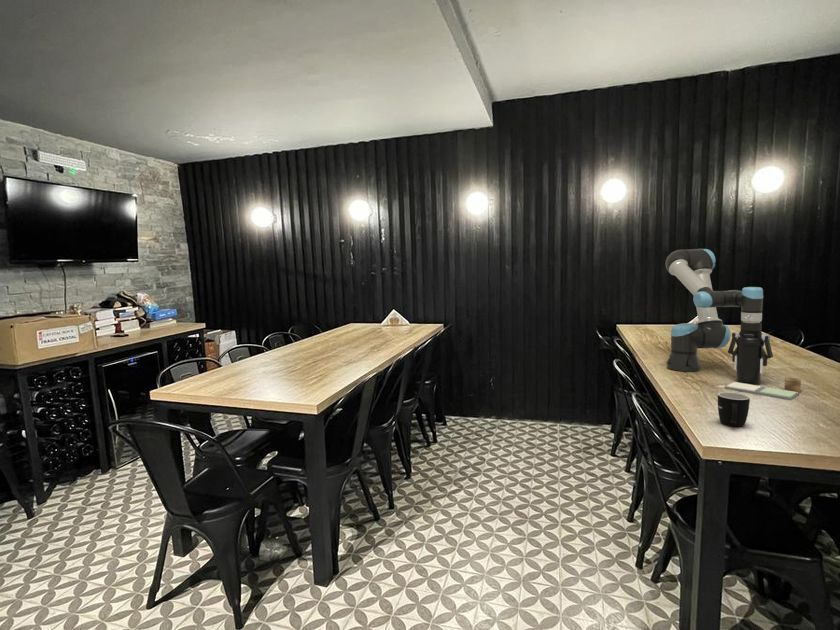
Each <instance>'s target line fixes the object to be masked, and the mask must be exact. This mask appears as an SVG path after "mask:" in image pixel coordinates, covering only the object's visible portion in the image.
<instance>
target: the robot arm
mask: <svg viewBox="0 0 840 630" xmlns="http://www.w3.org/2000/svg"><path fill="white" fill-rule="evenodd" d="M715 267H716V256H715V254H714V252H713V251H711V249H707V248H692V249H691V248H690V249H677V250H674V251H672V252H670V254H668V256H667V257H666V260H665V268H666V270H667V272H668V273H669V274H670V275H671V276H675V277H676V278H677V280H679V281H680V282H681V284H682V285H683V286H684V287H685V288H686V289H687V290H688V291H689V292H690V293H691V295H692V297H693V298H692V300H693V301H692V302H693V303H694V306H695V307H696V313H697V319H698V320H697V322H696V323H695V322H686V323H685V322H682V323H678V324H674V325H673V326H672V327H671V332H670V354H669V356H668V359H667V362H666V368H667V369H668V368H669V370H671V369H673V370H672V371H675V370H678V371H677V372H683V371H687V373H689V372H690V373H691V372H692V371H696V372H700V371H701V364H700V360H699V357H698V349H721V348H724V347H726V346H727V345H728V344H729V343H730V344H729V346H728V347H729V348H728V350H727V354H731V355H732V357H731V358H732V359H731V360H732V361H731V362H732V363H734V369H733V370H735V371H737V346H736V339H737V338H738V337H739V336H742V335H744V334H755V336H757V337H759V338H762V339H763V340H764V346H765V349H764V348H763V349H761V356H762V359H761V360H760V373H761V375H762V374H764V373H765V367H767V365H768V359H771V358H773V356H774V355H773V351H772V345H771V342H770V339H771V335H768V334H767V335H766V334H763V332H762V326H763V323H762V320H763V306H764V305H763V304H764V289H763V288H762V287H759V286H747V287H743V288H742V289H741V290H738V289H731V290H713V286H712V281H711V274H712V272H713V270H714V268H715ZM731 307H732V308H735V307H736V308H741V309H740V310H741V311H740V331H739V332H737V331H736V332H732V334H731V329H730V328H729V326H728V325H726V324H724V323H723V320H722V319H720V318H719V316H718V311H717V308H731ZM730 339H731V341H730ZM735 347H736V348H735ZM699 370H700V371H699ZM688 371H689V372H688Z"/></svg>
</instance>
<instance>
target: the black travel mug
mask: <svg viewBox="0 0 840 630" xmlns="http://www.w3.org/2000/svg"><path fill="white" fill-rule="evenodd" d="M735 345H736V347H737V370H736V382H738V383H744V384H750V385H757V386H760V385H761V375H762V374H761V373H760V360H761V359H762V356H761V349H764V346H765V343H764V340H763V338H762V337H761V338H759V337H757V336H755V334H744V335H742V336H740V335H739V337H737V339H736V343H735Z"/></svg>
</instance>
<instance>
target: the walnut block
mask: <svg viewBox="0 0 840 630" xmlns="http://www.w3.org/2000/svg"><path fill="white" fill-rule="evenodd" d="M801 385H802V380H801V378H795V377H787V376H786V377H784V389H783V390H787V391H793V392H798V393H799V394H801V387H802V386H801Z"/></svg>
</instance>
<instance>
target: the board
mask: <svg viewBox="0 0 840 630" xmlns="http://www.w3.org/2000/svg"><path fill="white" fill-rule="evenodd" d="M724 388H725V390H729V389H730V391H734V392H735V391H736V392H741V393H742V392H743V393H748V394H753V395H759V396H765V397H770V398H775V399H780V400H781V399H782V400H788V401H793V400H794V399H795V398H796V397H798V396H800V393H797V392H793V391H787V390H785V389H781V388H773V387H770V386H769V387H767V386H760V385H750V384H744V383H738V382H737V381H733V382H731V383H729V384H727V385H726V386H724Z"/></svg>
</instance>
